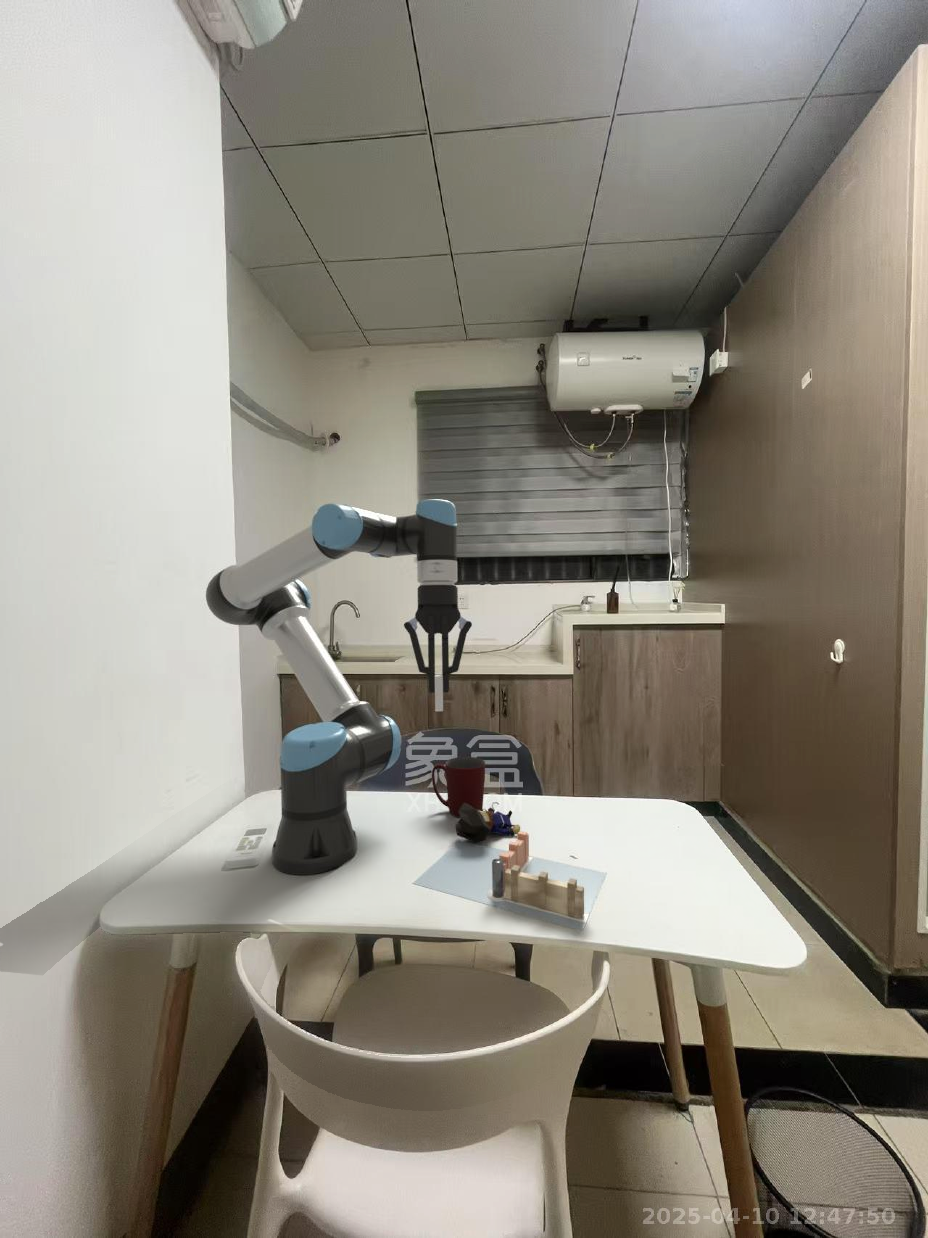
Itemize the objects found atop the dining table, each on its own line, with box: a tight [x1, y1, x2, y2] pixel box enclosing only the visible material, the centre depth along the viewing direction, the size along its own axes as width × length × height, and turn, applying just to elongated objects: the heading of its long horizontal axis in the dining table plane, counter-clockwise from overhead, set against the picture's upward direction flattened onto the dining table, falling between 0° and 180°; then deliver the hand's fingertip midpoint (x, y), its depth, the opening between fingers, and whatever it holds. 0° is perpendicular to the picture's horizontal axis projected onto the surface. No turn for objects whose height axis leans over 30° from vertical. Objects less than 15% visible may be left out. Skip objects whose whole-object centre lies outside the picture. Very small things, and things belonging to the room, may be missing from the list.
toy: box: [455, 801, 521, 844], centre depth 100 cm, size 9×6×15 cm
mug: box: [431, 756, 486, 819], centre depth 112 cm, size 12×9×11 cm
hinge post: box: [492, 859, 504, 898], centre depth 79 cm, size 2×2×6 cm
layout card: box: [412, 839, 607, 932], centre depth 84 cm, size 28×17×1 cm, turn 63°
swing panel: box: [499, 830, 530, 890], centre depth 86 cm, size 12×2×5 cm, turn 154°
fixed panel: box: [505, 865, 584, 919], centre depth 76 cm, size 12×2×5 cm, turn 63°
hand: (439, 709), depth 95 cm, fingers closed
